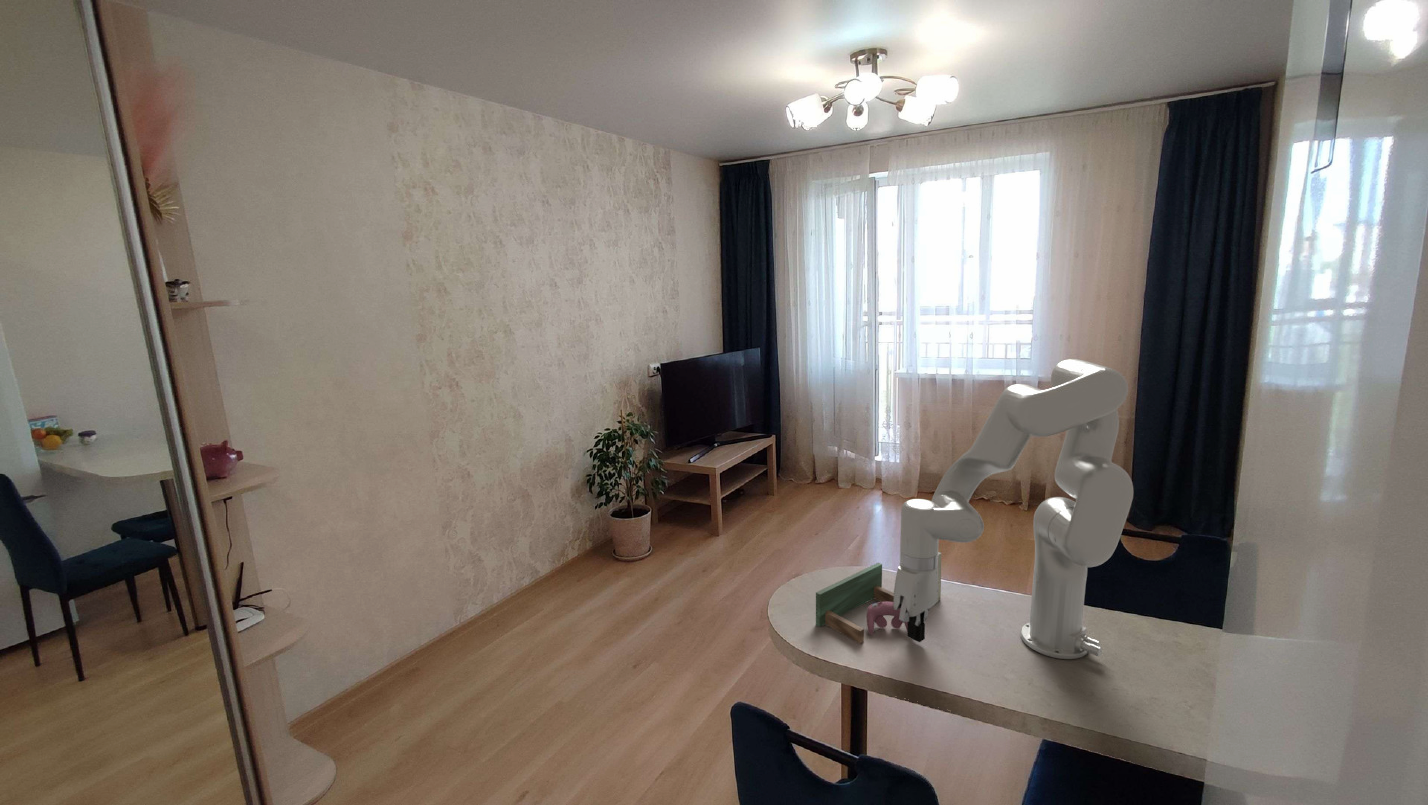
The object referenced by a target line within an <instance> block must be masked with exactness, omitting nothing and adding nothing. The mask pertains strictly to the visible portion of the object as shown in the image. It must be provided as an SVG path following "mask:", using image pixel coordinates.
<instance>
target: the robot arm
mask: <svg viewBox="0 0 1428 805" xmlns="http://www.w3.org/2000/svg"><path fill="white" fill-rule="evenodd" d="M1050 375H1051V376H1050V384H1051V388H1048V389H1047V388H1046V389H1041V388H1039V387H1037V386H1034V385H1033V386H1032V385H1030V384H1026V383H1016V384H1012V385H1009V386H1008V387H1006V388H1005V389H1004V390H1003V391H1002V393H1000V395H999V397H998V399H997V401H996V403H995V404H994V407H992V410H991V412H990V413H989V415H988V417H987V419H986V420H985V422H984V424H983V427H981V429H980V432H979V433H978V435H977V437H976V439H975V440H974V442H973V444H972V445H971V447H970V448H969V450H967V451H966V452H965V453H963V454H962V455H961V456H960V457H959V458H957V460H955V462H954V463H953V464H951V465H950V466H949V468H948V469H947V470H946V471H945V473H944V475H943V476H942V478H941V480H940V482H939V483H938V485H937V488H936V490H934V494H933V495H932V498H931V500H929V499H924V498H912V499H909V500H905V501H904V502H903V503H902V505H901V509H900V510H901V511H900V514H901V515H900V536H899V537H900V540H899V541H900V545H899V546H900V547H899V566H898V568H897V571H896V574H895V575H896V576H895V581H894V588H893V593H894V599H893V608H894V609H895V610H898V609H900V608H901V610H900V616H899V620H901V621H903V622H908V628H907V629H906V633H907V634H906V635H907V637H908V638H910V639H912V640H914V641H915V642H917V643H921V642H922V641H924V640H925V637H926V622H927V620H928V613H929V611H930V609H931V608H932V607H934V605H936V604H937V603H938V602H937V600H938V591H939V578H938V552H939V542H940V541H939V540H942V541H948V542H953V543H959V544H960V543H961V544H962V543H971V542H974V541H976V540H977V539H979V538H980V537H981V535H982V534H983V532H984V530H985V525H984V521H983V518H982V516H981V515H980V513H979V512H978V511H977V510H976V508H975V507H973V505H971V503H970V502H969V501H970V500H971V498H972V497H973V494H974V492H976V489H977V488H978V486H979V485H980V484H981V483H982V482H983V481H984V480H985V479H986V478H988V477H990V476H992V475H994V474H999V473H1003V472H1008V471H1010V470H1012V469H1013V468H1014V467H1015V465H1016V464H1017V462H1018V460H1019V458H1020V456H1022V455H1021V454H1022V453H1023V452H1024V449H1025V448H1026V446H1027V444H1028V443H1029V441H1030V439H1031V438H1032V437H1035V438H1046V437H1051V436H1054V435H1057V434H1060V433H1064V432H1066V434H1065V437H1064V440H1063V444H1062V447H1061V449H1060V453H1059V456H1058V460H1057V463H1056V466H1055V470H1054V480H1055V483H1056V485H1057V486H1058V487H1059V488H1060V489H1061V490H1062V491H1063V492H1065V493H1066V494H1067V495H1069V496H1070V497H1071V498H1073V499H1074V500H1075V501H1074V500H1073V499H1070V498H1067V497H1063V496H1053V497H1049V498H1047V499H1046V500H1043V501H1042V502H1041V503H1040V504H1039V505H1038V507H1037V508H1036V510H1035V512H1034V516H1033V537H1034V549H1035V550H1034V567H1033V577H1032V590H1031V601H1030V602H1031V604H1030V614H1029V615H1030V617H1029V622H1026V623H1025V624H1024V625H1022V627H1021V629H1020V638H1021V640H1022V641H1023V643H1025V645H1027V646H1028V648H1030V649H1032V650H1034V651H1036V652H1037V653H1040V654H1042V655H1044V656H1047V657H1051V658H1055V659H1061V660H1075V659H1079V658H1083V657H1084V656H1086V655H1087V654H1088V653H1089V654H1092V655H1093V656H1096V657H1100V656H1102V655H1101V654H1102V653H1103V652H1102V651H1103V648H1102V647H1101V646H1100V645H1101V641H1099V640H1098V639H1095V638H1092V637H1089V635H1087V629H1088V628H1087V627H1086V626H1083V625H1082V624H1083V618H1084V617H1083V615H1084V605H1085V597H1086V596H1085V595H1086V585H1087V577H1088V568H1093V567H1098V566H1101V565H1102V564H1104V563H1105V562H1107V561H1108V560H1109V559H1110V558H1111V557H1112V556H1113V554H1114V552H1115V550H1116V549H1117V546H1118V543H1119V541H1120V538H1121V536H1122V532H1123V529H1124V527H1125V524H1126V522H1127V518H1128V515H1129V513H1130V509H1131V506H1132V502H1133V499H1134V484H1133V481H1132V478H1131V477H1130V474H1129V473H1128V472H1127V471H1126V470H1125V469H1124V468H1123V467H1121V466H1120V465H1118V464H1117V463H1114V462H1112V460H1113V454H1114V450H1115V446H1116V443H1117V439H1118V435H1119V430H1120V417H1119V412H1118V411H1119V410H1118V409H1119V408H1120V407H1121V406H1122V405H1123V404H1124V403H1125V401H1126V399H1127V397H1128V394H1129V384H1128V381H1127V379H1126V378H1125V377H1124V375H1123V374H1122V373H1120V372H1119V371H1118V370H1116V369H1114V368H1111V367H1108V366H1105V365H1101V364H1098V363H1094V362H1091V361H1087V360H1082V359H1079V358H1068V359H1065V360H1061V361H1060V362H1059V363H1057V364H1056V365H1055V366H1054V367H1053V369H1052V372H1051V374H1050ZM936 602H937V603H936ZM935 603H936V604H935Z"/></svg>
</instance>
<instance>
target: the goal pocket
mask: <svg viewBox="0 0 1428 805" xmlns="http://www.w3.org/2000/svg"><path fill="white" fill-rule="evenodd" d="M882 586H883V564H882V563H880V562H876V563H874V564H873V565H871V566H868V567H866V568H864V569H861V570H859V571H858V572H855V573H853V574H852V575H850V576H848V577H845V578H843V579H841V580H839V581H837V582H835V583H832V584H830V585H829V586H826V587H824V588H822V589H820V590H818V591H816V592H815V625H816V626H817V627H819V628H821V627H822V626H824V625H826V626H828V627H830V628H831V629H833V630H835V631H836V632H839V633H840V634H842V635H843V636H846V637H847V638H850V639H851V640H852V641H855V642H856V643H858V644H862V643H864V641H865V640H864V639H865V629H864V628H863V627H861V626H859V625H858V624H856V623H853V622H852V621H850V620H848V619H846V618H844V617H843V615H845V614H847V613H849V612H851V611H852V610H855V609H857V608H859V607H860V606H862V605H864V604H866V603H868V602H870V601H871V600H873V598H875V599H874V600H876V601H878V602H885V601H889V602H893V599H894V592H893V591H890V590H888V589H886V588H883V587H882ZM867 601H868V602H867Z"/></svg>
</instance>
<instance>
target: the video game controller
mask: <svg viewBox="0 0 1428 805" xmlns="http://www.w3.org/2000/svg"><path fill="white" fill-rule="evenodd" d="M900 610H901V608H900V609H898V610H895V609H894V608H893V602H889V601H885V602H880V601H878V602H874V603H871V604H870V605H869V606H868V607H867V610H866V627H867V631H868V634H869V635H873V633H874V630H875V624H876V625H877V627H878V628H880V629H884V628H886V627H887V626H888V621H887V619H886V617H884V616H890V617H891V616H892V617H893V618H892V619H890V625H891V627H892V628H893V629H896V630H899V629H900V628H901V627H902V625H903V624H904V626H905V629H906V630H907V628H908V622H903V621H901V620H899V616H900Z"/></svg>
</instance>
